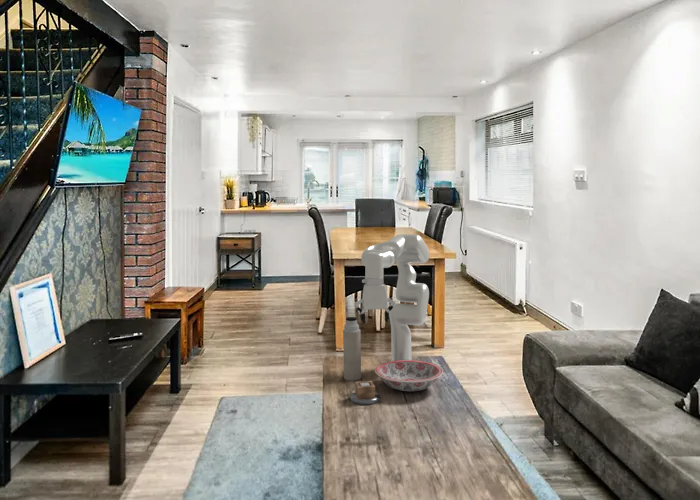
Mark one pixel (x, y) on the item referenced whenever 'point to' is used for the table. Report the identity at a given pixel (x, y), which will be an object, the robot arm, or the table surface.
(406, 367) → the ceramic bowl
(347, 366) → the thermos bottle
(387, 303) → the robot arm
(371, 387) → the hollow wooden square
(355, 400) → the post base
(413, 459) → the table surface
